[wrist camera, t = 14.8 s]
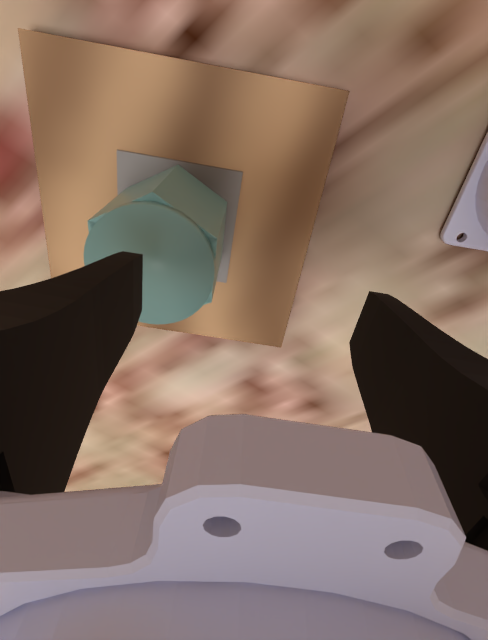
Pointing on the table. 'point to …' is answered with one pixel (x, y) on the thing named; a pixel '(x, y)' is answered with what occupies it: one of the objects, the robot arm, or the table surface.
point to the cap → (165, 241)
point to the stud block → (184, 162)
